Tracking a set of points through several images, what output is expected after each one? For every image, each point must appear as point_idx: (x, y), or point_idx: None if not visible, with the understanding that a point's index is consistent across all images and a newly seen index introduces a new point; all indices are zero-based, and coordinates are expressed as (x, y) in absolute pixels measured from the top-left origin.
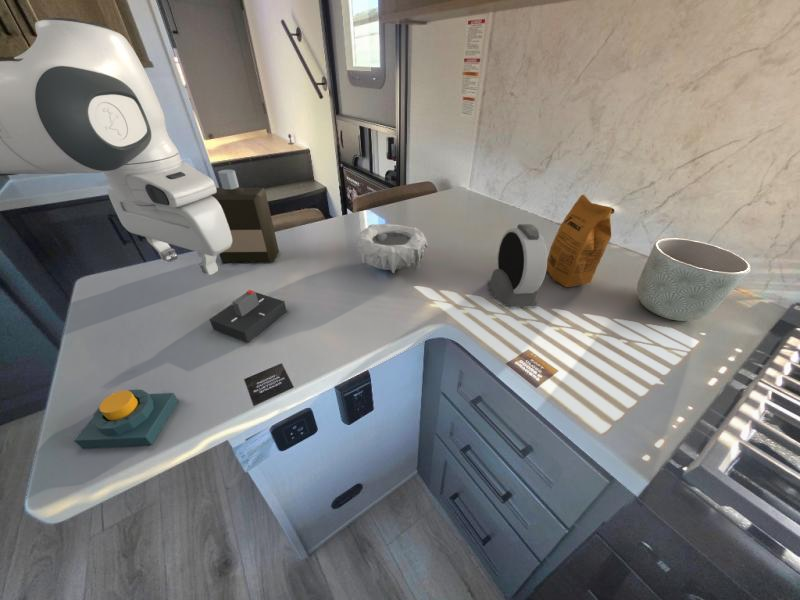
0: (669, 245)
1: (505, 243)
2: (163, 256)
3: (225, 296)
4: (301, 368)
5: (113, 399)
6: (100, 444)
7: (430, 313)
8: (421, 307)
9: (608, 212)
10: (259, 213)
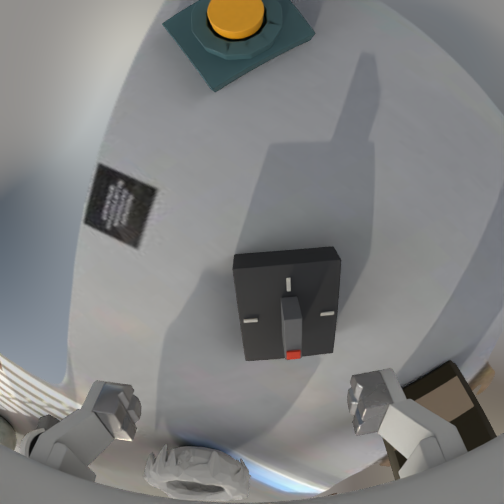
0: None
1: None
2: (375, 389)
3: (389, 317)
4: (104, 256)
5: (244, 8)
6: None
7: (82, 397)
8: None
9: None
10: (399, 476)
